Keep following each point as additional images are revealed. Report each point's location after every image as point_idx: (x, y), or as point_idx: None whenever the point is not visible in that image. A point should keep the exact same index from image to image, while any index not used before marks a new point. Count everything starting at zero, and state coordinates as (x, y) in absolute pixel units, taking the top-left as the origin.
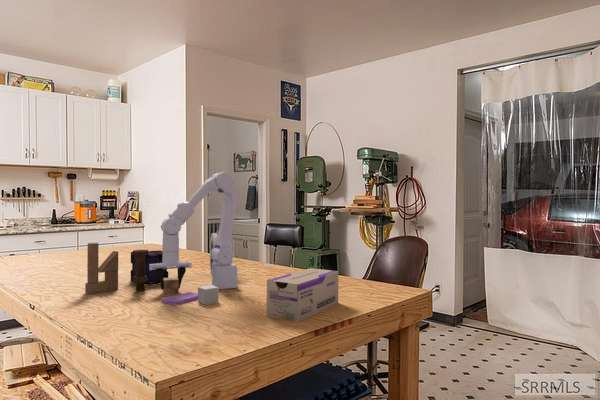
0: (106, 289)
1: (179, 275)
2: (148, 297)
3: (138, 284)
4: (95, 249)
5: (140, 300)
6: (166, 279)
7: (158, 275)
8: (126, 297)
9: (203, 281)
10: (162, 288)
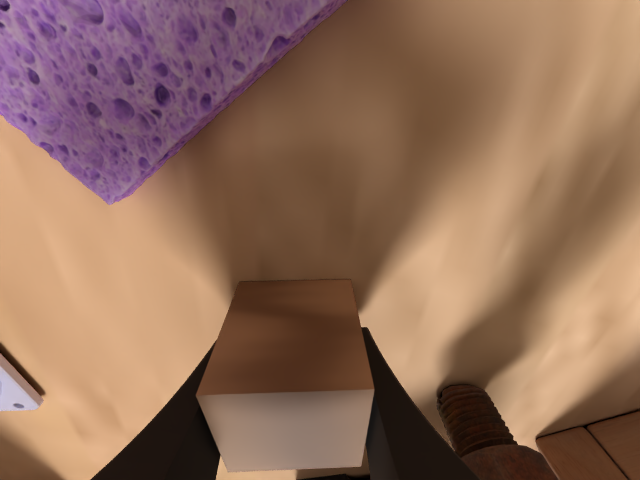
0: (610, 429)
1: (163, 465)
2: (480, 231)
3: (504, 431)
4: None
5: (586, 141)
6: (338, 423)
7: (473, 476)
8: (606, 281)
9: None
10: (365, 335)
